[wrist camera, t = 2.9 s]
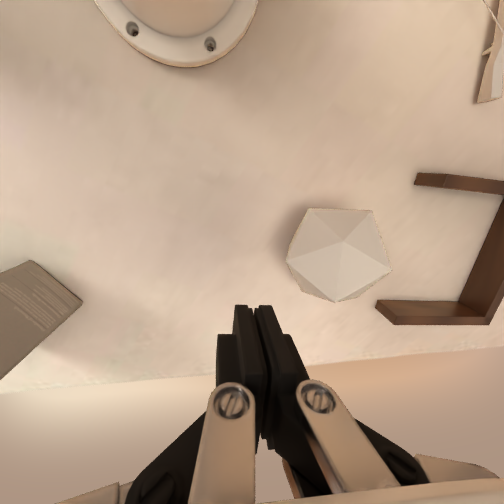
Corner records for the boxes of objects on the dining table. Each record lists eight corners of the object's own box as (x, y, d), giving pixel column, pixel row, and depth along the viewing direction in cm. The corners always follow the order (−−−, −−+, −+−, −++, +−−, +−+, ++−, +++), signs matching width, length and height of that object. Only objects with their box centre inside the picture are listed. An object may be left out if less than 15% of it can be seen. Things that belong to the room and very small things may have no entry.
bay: (374, 307, 31) (393, 325, 27) (417, 172, 25) (447, 173, 22) (462, 309, 33) (489, 325, 29) (518, 185, 27) (559, 188, 24)
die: (293, 289, 29) (382, 327, 22) (249, 266, 22) (360, 309, 15) (320, 225, 30) (414, 243, 23) (286, 185, 23) (405, 193, 16)
